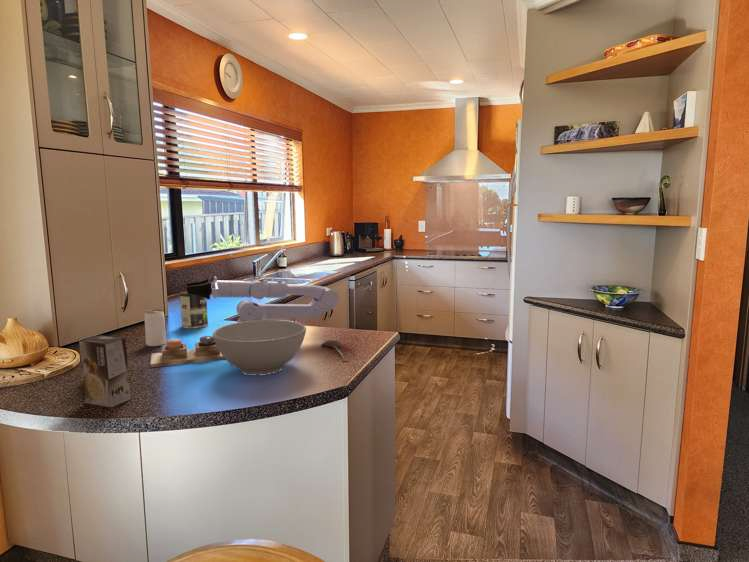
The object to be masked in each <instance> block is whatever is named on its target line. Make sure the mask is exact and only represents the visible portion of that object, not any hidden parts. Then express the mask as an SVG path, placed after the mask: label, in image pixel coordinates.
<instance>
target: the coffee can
mask: <svg viewBox="0 0 749 562" xmlns="http://www.w3.org/2000/svg"><path fill="white" fill-rule="evenodd" d="M178 294H179V299H180V300H179V303H180V304H179V305H180V317H181V327H182V329H199V328H200V329H201V328H204V327H205V328H206V327H207V326H208V325H209V323H208V322H209V321H208V319H209V318H208V304H207V300H208V299H207V298H205V297H202V296H198V295H193V294H188V293H187V290H184V291H183V290H182V291H179V293H178Z"/></svg>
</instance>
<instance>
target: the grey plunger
mask: <svg viewBox="0 0 749 562" xmlns="http://www.w3.org/2000/svg"><path fill="white" fill-rule="evenodd" d="M199 342H200V346H210V345H214V338H213V335H204V336H201V337H199Z"/></svg>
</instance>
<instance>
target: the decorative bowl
mask: <svg viewBox="0 0 749 562" xmlns="http://www.w3.org/2000/svg"><path fill="white" fill-rule="evenodd" d="M306 332H307V328H306V325H305V324H303V323H301V322H298V321H292V320H284V319H262V320H254V321H245V322H238V323H237V322H235V323H230V324H226V325H223V326H221V327H218V328H216V329H214V331H213V332H212V336H213V338H214V341H215V343H216V346H217V348H218V349H219V351H220V352H221V354H222V355H223V356H224V358H225V359H224V360H226V361H227V362H228V363H230V365H233V366H234V367H236V368H237V369H239V370H240V372H241V373H242V372H243V373H242V374H244V373H246V374H256V375H260V374H268V373H273V372H276V371H279V370H280V369H282V368H284V366H285V365H286V364H287V363H289V362H290V361H291V360H292V359H293V358H294V357H295V356H296V355H297V353H298V352H299V350H300V348H301V347H302V345H303V342H304V339H305V336H306ZM282 370H283V369H282ZM280 371H281V370H280ZM280 371H279V372H280ZM276 373H277V372H276ZM246 374H245V375H246ZM273 374H274V373H273ZM260 376H261V375H260Z"/></svg>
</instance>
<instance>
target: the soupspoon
mask: <svg viewBox="0 0 749 562" xmlns="http://www.w3.org/2000/svg"><path fill="white" fill-rule="evenodd" d="M340 345H341V342H340V341H338V340H335V339H330V340H326V341H324V342H322V343H321V346H328V347H332V348H334V349H335V350H336V352H338V353H339V355H340V356H341V360H342V359H347V360H348V358H347V357H345V356H344V354H343V353H342V352H341V350H340V349H339V347H338V346H340Z"/></svg>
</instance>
